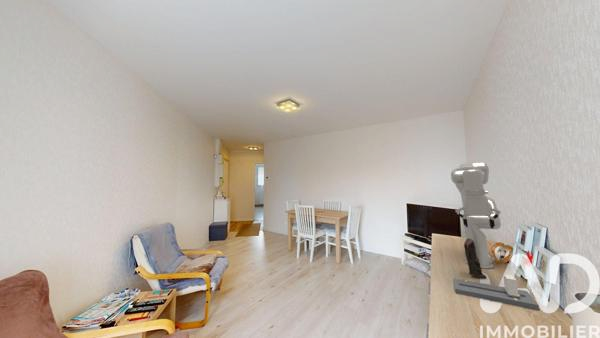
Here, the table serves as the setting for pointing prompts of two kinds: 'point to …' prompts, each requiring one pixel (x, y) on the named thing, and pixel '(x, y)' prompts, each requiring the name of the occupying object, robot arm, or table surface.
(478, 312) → the table surface
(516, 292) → the fader
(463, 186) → the robot arm
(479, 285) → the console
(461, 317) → the table surface
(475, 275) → the statue
